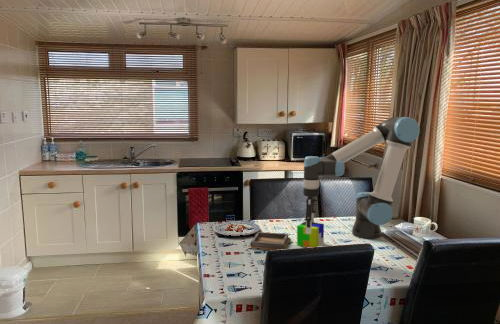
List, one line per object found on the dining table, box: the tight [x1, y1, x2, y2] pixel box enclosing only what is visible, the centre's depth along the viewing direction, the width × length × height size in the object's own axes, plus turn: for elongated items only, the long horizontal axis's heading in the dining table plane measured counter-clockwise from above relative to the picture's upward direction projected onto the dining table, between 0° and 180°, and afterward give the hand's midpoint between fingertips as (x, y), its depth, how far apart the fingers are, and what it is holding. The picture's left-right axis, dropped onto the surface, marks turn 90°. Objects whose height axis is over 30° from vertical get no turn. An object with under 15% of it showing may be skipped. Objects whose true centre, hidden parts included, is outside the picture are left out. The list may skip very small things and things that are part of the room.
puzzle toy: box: [296, 221, 325, 248], centre depth 193 cm, size 10×10×10 cm
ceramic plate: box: [213, 220, 261, 237], centre depth 215 cm, size 26×26×3 cm
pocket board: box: [247, 231, 291, 251], centre depth 194 cm, size 18×18×3 cm
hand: (309, 229), depth 192 cm, fingers open, 13 cm apart
